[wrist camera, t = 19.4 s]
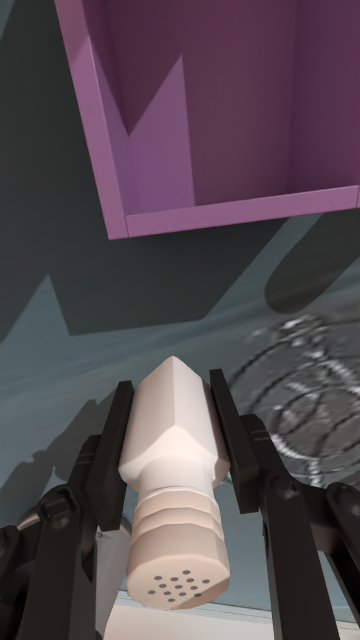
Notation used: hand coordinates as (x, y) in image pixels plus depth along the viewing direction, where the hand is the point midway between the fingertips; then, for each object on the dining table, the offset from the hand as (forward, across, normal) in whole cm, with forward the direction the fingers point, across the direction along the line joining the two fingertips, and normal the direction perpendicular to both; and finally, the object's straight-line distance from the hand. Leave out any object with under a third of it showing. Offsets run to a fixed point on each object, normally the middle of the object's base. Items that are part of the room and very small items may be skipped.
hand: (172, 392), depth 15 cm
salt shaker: (+1, 0, 0) cm, 1 cm away
